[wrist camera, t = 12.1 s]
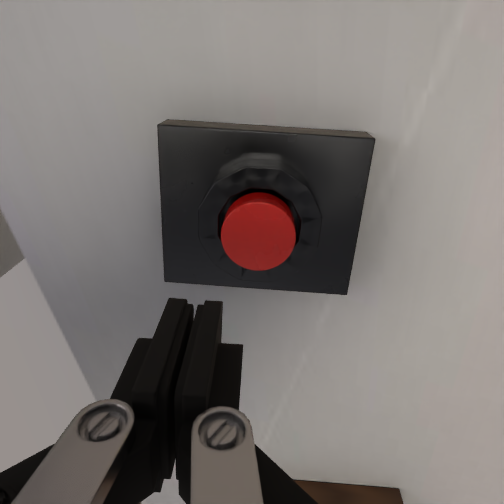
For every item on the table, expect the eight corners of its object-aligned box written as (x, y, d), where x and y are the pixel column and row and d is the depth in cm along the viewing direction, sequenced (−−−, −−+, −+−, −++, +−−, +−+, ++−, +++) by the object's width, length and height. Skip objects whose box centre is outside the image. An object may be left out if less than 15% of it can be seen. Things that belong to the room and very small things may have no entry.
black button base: (171, 266, 28) (156, 296, 25) (166, 119, 24) (147, 129, 21) (342, 279, 28) (351, 311, 25) (367, 131, 24) (384, 144, 20)
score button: (223, 254, 24) (219, 268, 22) (225, 189, 22) (221, 199, 20) (291, 259, 24) (292, 273, 22) (297, 194, 22) (299, 204, 20)
